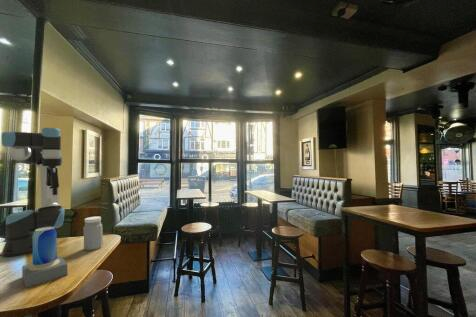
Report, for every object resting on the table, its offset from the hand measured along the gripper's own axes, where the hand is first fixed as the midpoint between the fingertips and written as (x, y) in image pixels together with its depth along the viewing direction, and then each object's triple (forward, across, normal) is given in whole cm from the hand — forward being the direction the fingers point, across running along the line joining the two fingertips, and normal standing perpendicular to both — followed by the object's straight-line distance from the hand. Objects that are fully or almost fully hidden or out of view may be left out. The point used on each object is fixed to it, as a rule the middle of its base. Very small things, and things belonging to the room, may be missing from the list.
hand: (52, 199), depth 116 cm
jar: (+33, -8, +20) cm, 39 cm away
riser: (+32, +14, -5) cm, 36 cm away
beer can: (+27, +14, -5) cm, 31 cm away
